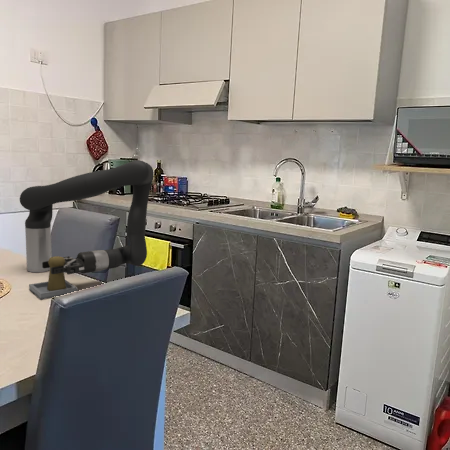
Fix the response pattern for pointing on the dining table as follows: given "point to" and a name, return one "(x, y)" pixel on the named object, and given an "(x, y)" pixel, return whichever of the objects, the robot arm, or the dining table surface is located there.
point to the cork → (56, 279)
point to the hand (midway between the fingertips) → (46, 268)
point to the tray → (43, 293)
